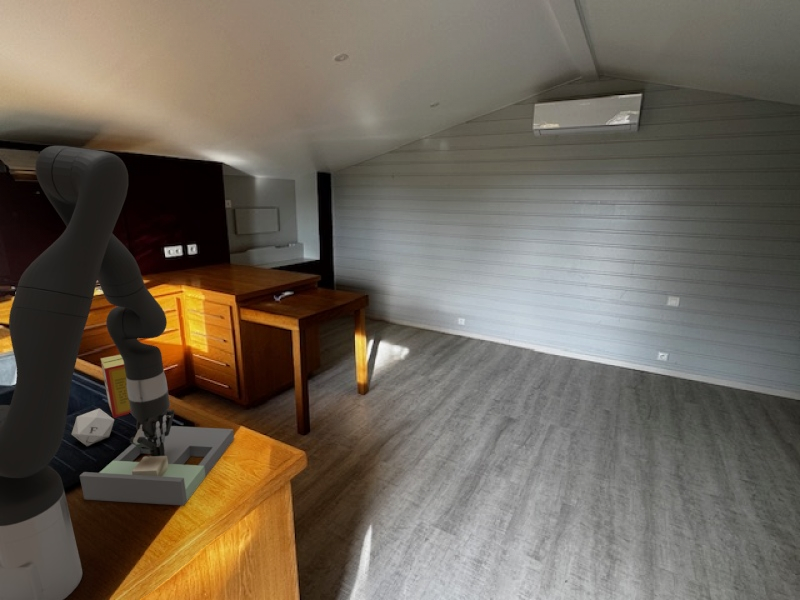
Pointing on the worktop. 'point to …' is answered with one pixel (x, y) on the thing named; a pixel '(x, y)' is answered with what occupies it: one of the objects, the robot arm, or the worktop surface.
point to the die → (92, 427)
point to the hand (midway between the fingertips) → (158, 458)
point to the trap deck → (176, 479)
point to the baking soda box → (116, 385)
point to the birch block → (151, 466)
